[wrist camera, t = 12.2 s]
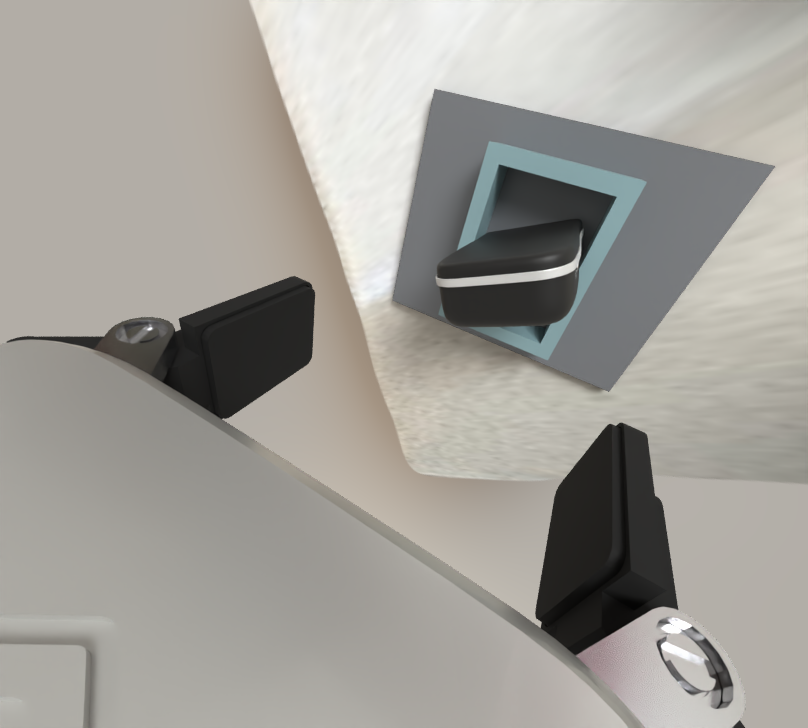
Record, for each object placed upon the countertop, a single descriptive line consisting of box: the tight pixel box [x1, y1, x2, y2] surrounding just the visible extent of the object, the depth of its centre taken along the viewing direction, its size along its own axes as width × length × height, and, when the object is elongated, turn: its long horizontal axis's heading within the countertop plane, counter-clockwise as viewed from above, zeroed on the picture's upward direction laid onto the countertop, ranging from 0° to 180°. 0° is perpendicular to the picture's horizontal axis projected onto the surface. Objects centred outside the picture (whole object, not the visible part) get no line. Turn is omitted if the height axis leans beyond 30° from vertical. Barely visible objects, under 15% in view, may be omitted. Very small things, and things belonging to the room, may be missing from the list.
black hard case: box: [436, 219, 584, 327], centre depth 21 cm, size 7×4×11 cm, turn 100°
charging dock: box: [393, 89, 775, 392], centre depth 24 cm, size 20×16×4 cm
